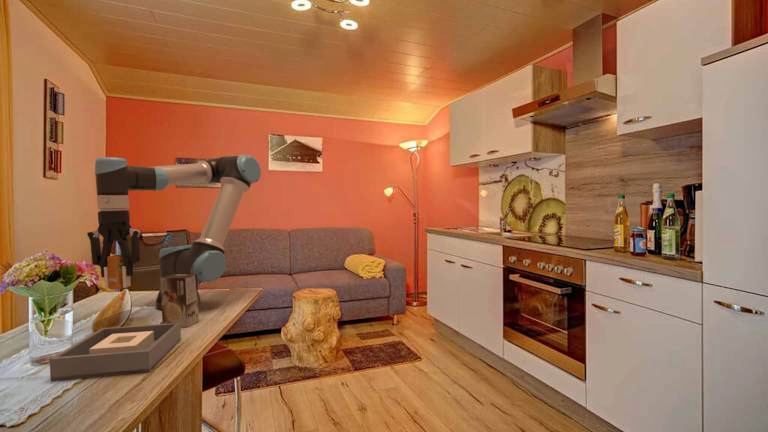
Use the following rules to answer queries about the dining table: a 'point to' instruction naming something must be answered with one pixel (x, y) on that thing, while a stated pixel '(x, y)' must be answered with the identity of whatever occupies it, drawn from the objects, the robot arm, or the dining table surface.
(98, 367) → the walled box
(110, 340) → the socket block
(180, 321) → the coffee box
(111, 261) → the supplement box
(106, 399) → the dining table surface
